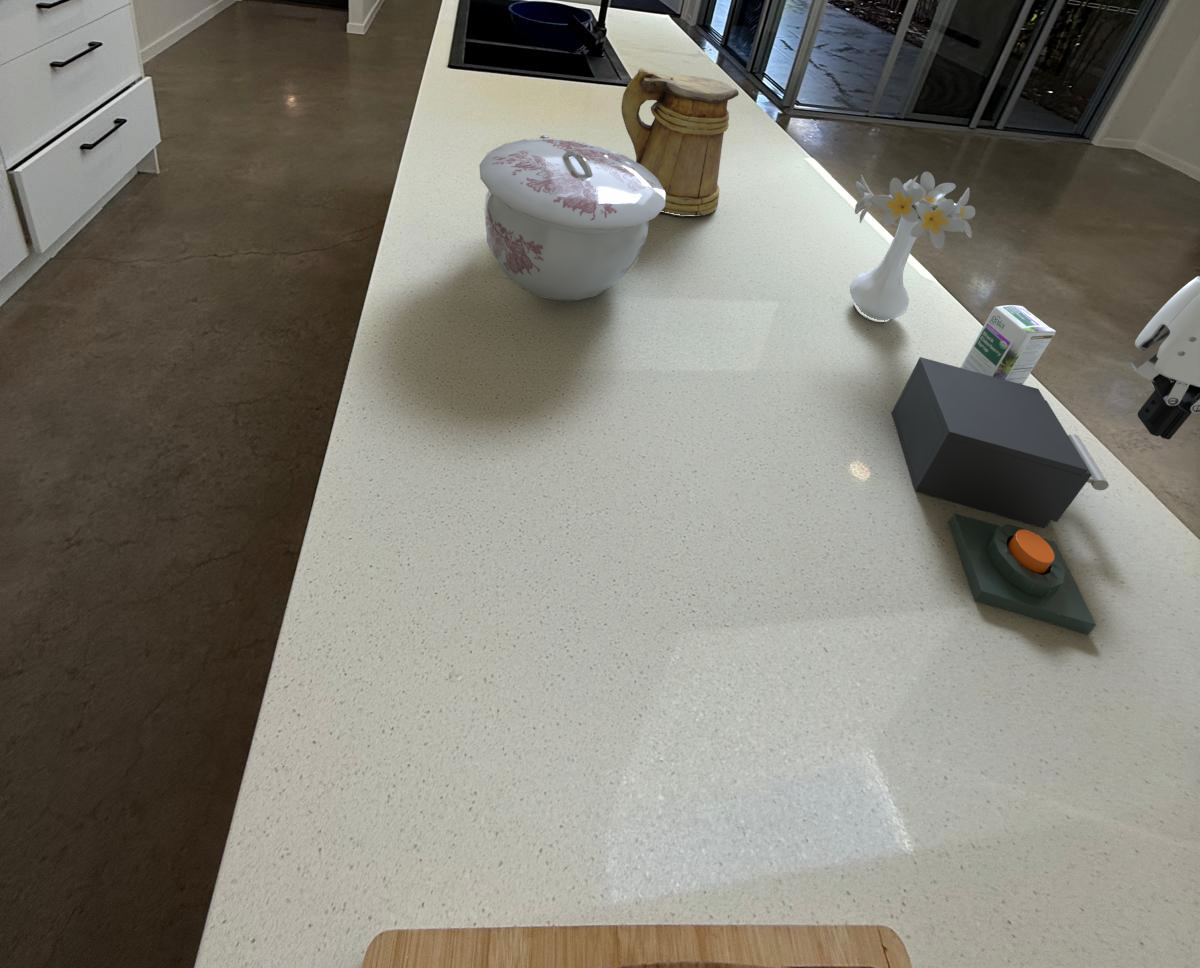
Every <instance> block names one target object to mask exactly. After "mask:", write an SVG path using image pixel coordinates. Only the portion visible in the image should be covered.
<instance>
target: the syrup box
mask: <svg viewBox="0 0 1200 968" xmlns="http://www.w3.org/2000/svg"><path fill="white" fill-rule="evenodd" d="M1056 333H1057V330H1055V329H1053V328H1052V327H1050V326H1049V325H1047V324H1046V323H1044V321H1042V320H1041V319H1039V318H1038V317H1037V316H1036V315H1034V314H1033V313H1032V312H1031V311H1029V310H1028V309H1027V308H1026V307H1024V306H1023V305H1015V304H1014V305H1013V304H1009V305H999V306H994V307H993V308H992V310H991V312H990V313H989V316H988V317H987V319H986V320H985V323H984V324H983V326H982V328H981V330H980V332H979V334H978V335H977V337H976V339H975V341H974V342H973V344H972V346H971V347H970V349H969V352H968V353H967V354H966V356H965V358H964V360H963V362H962V364H961V366H960V367H959V368H963V369H966V370H970V371H974V372H978V373H981V374H985V375H989V376H992V377H996V378H1000V379H1004V380H1007V381H1011V382H1015V383H1018V384H1022V385H1025V383H1026V381H1027V379H1028V378H1029V376H1030V374H1031V373H1032V371H1033V370H1034V368H1035V367H1036V365H1037V363H1038V362H1039V361H1040V358H1041V357H1042V355H1043V353H1044V352H1045V350H1046V349H1047V347H1048V346H1049V344H1050V343H1051V342H1052V340H1053V339H1054V336H1055V335H1056Z"/></svg>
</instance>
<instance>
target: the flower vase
mask: <svg viewBox="0 0 1200 968" xmlns="http://www.w3.org/2000/svg"><path fill="white" fill-rule="evenodd" d="M918 177H919V175H916V176H915V177H914V178H913V179H912V178H911V179H909V180H908V181H906V182H904V183H902V180H900V179H899V178H898V177H892V178H891V180H890V182H889V186H888V187H889V189H888V191H889V194H888V195H886V194H876V195H875V194H874V193H873V192H872V191H871V189H870V187H869V186H868V184H867V182H866V180H865V177H864V176H863V174H862V173H861V174H860V182H859V181H857V180H856V181H855V190H856V193H857V195H858V196H859V197H860V199H859V200H857V202H856V204H855V207H854V214H855V215H858V214H859V213H860V215H859V224H861V223H862V222H863V219H865V216H866V214H867V213H868V211H869V209H870V208H871V207H872V205H873V206H875V207H878V208H880V209H885V212H884V213H883V215H882V217H881V225H882V227H886V228H887V227H890V226H891V225H893V224H894V223H895V222H896V221H897V220H899V222H898V226H897V230H896V232H895V235H894V237H893V239H892V241H891V243H890V245H889V247H888V249H887V251H886V253H885V255H884V256H883V258H882V260H881V261H880V262H879V263H878V264H877V265H876V266H875V267H874V268H873V269H871V270H868V271H864V272H861V273H859V274H858V275H856V276H854V278H853V280H852V281H851V282H850V283H849V294H850V297H851V299H852V301H853V303H854V302H855V303H856V305H857V306H858V307H859V309H860V310H861V312H863V313H864V314H866V315H867V316H869V317H871V318H874V319H877V320H884V321H885V320H888V319H891V320H892V319H896V318H899V317H901V316H903V315H904V314H906V313H907V311H908V310H909V307H910V297H909V293H908V290H907V289H906V287H905V285H904V271H905V267H906V264H907V261H908V259H909V256H910V254H911V252H912V249H913V247H914V245H915V242H916V240H917V239H918V238H921V237H924V236H925V235H927V234H929V238H930V241H931V243H932V246H933V247H934V248H936V249H938V250H941V249H943V248H944V247H945V243H946V234H945V231H947V232H952V233H959V232H961V233H965V234H966V235H967V237H968V238H970V239H972V238H973V233H972V228H971V225H970V224H969V222H968V221H967V220H972V219H973V218H974V217H975V215H976V209H975V207H974V206H973V205H967V204H968V202H969V199H970V193H971V192H970V191H971V189H970V187H967V189H966V190H965V191H964V193H963V194H962V196H961V197H960V198H959V200H958V201H957V202H956V203H955V201H954V200H953V199H951V198H948V199H947V198H945V196H946V195H948V194H949V193H951V192H952V191H954V190H955V189H956V187H957V185H956V184H955V183H953V182H943V183H940V184H938V185H937V186H936V181H935V180H936V179H935V178H934V176H933V174H932V173H931V172H929V171H924V172H922V174H921V175H920V180H919V183H920V184H919V183H918V182H916V181H917V179H918ZM915 206H916V207H915ZM933 207H934V208H933ZM935 207H936V208H935ZM949 215H950V216H949ZM898 218H899V219H898Z"/></svg>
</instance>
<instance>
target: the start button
mask: <svg viewBox="0 0 1200 968" xmlns="http://www.w3.org/2000/svg"><path fill="white" fill-rule="evenodd" d="M1044 539H1045V538H1043V537H1042V536H1040V535H1039V534H1037V533H1036V532H1033V531H1031V530H1028V529H1025V530H1018V531H1017V532H1016V534H1015V535H1014V536H1013V538H1012V539H1011V541H1010V542H1009V545H1008V547H1009V551H1010V553H1011V555H1012V556H1013V557H1014V558H1015V559H1016V560H1017V561H1018V562H1019V564H1021V565H1022V566H1024V567H1025V568H1027V569H1028V570H1030V571H1031V572H1034V573H1044V572H1045V571H1046V570H1047V569H1048V567H1049V566H1050V565H1051V564H1052V562H1053V561H1054V558H1055V556H1054V552H1053V550H1052V548H1051V547H1050V546H1049V544H1048V543H1047V542H1046V541H1045V540H1044Z"/></svg>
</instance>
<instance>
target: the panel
mask: <svg viewBox="0 0 1200 968" xmlns="http://www.w3.org/2000/svg"><path fill="white" fill-rule="evenodd" d="M947 524H948V527H949V529H950V532H951V536H952V538H953V542H954V545H955V547H956V551H957V553H958V556H959V560H960V562H961V565H962V568H963V571H964V574H965V577H966V580H967V583H968V586H969V589H970V592H971V594H972V597H973V600H974V602H976V603H980V604H982V605H986V606H989V607H993V608H996V609H999V610H1003V611H1006V612H1009V613H1012V614H1015V615H1016V614H1017V615H1019V616H1023V617H1026V618H1029V619H1033V620H1036V621H1039V622H1043V623H1047V624H1049V625H1052V626H1056V627H1059V628H1063V629H1067V630H1070V631H1073V632H1077V633H1080V634H1083V635H1087V636H1089V635H1090V634H1091V632H1093V630H1094V629H1095V628H1096V627H1097V623H1096V621H1095V619H1094V617H1093V615H1092V613H1091V610H1090V609H1089V606H1088V605H1087V603H1086V601H1085V599H1084V597H1083V594H1082V592H1081V590H1080V589H1079V587H1078V584H1077V582H1076V580H1075V578H1074V576H1073V574H1072V572H1071V570H1070V568H1069V566H1068V564H1067V561H1066V559H1065V558H1064V555H1063V554H1062V552H1061V550H1060V547H1059V546H1058V543H1057V542H1056V541H1053V540H1049V539H1047V538H1043V539H1044V540H1045V541H1046V542H1047V543H1048V544H1049V546H1050V547H1051V548H1052V550H1053V552H1054V556H1055V558H1054V561H1053V562H1052V564H1051V565H1050V566H1049V567H1048V569H1047V570H1046V571H1045V572H1044V573H1034V572H1031V571H1030V570H1028V569H1027V568H1025V567H1024V566H1022V565H1021V564H1019V562H1018V561H1017V560H1016V559H1015V558H1014V557H1013V556H1012V555H1011V553H1010V551H1009V547H1008V545H1009V542H1010V541H1011V539H1012V538H1013V536H1014V535H1015V534H1016V532H1017V531H1018V530H1026V529H1025V528H1023V527H1019V526H1016V525H1013V524H1009V523H1008V524H1003V525H998V524H995V523H991V522H988V521H985V520H981V519H977V518H973V517H971V516H967V515H963V514H961V513H960V514H959V513H957V512H953V513H952V515H951V517H950V518H949V520H948V522H947Z"/></svg>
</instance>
